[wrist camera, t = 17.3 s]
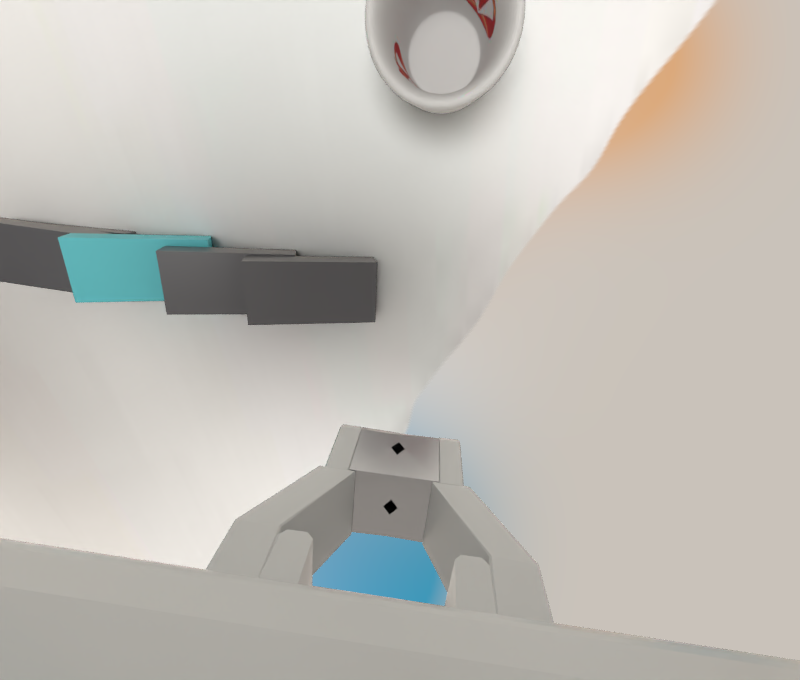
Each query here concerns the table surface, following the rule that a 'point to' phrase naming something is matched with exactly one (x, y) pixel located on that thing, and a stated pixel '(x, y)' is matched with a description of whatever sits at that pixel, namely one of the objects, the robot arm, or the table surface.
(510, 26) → the cup
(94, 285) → the domino teal
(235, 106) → the table surface
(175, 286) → the domino
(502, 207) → the table surface
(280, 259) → the domino
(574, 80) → the table surface
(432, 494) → the robot arm
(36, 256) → the domino
